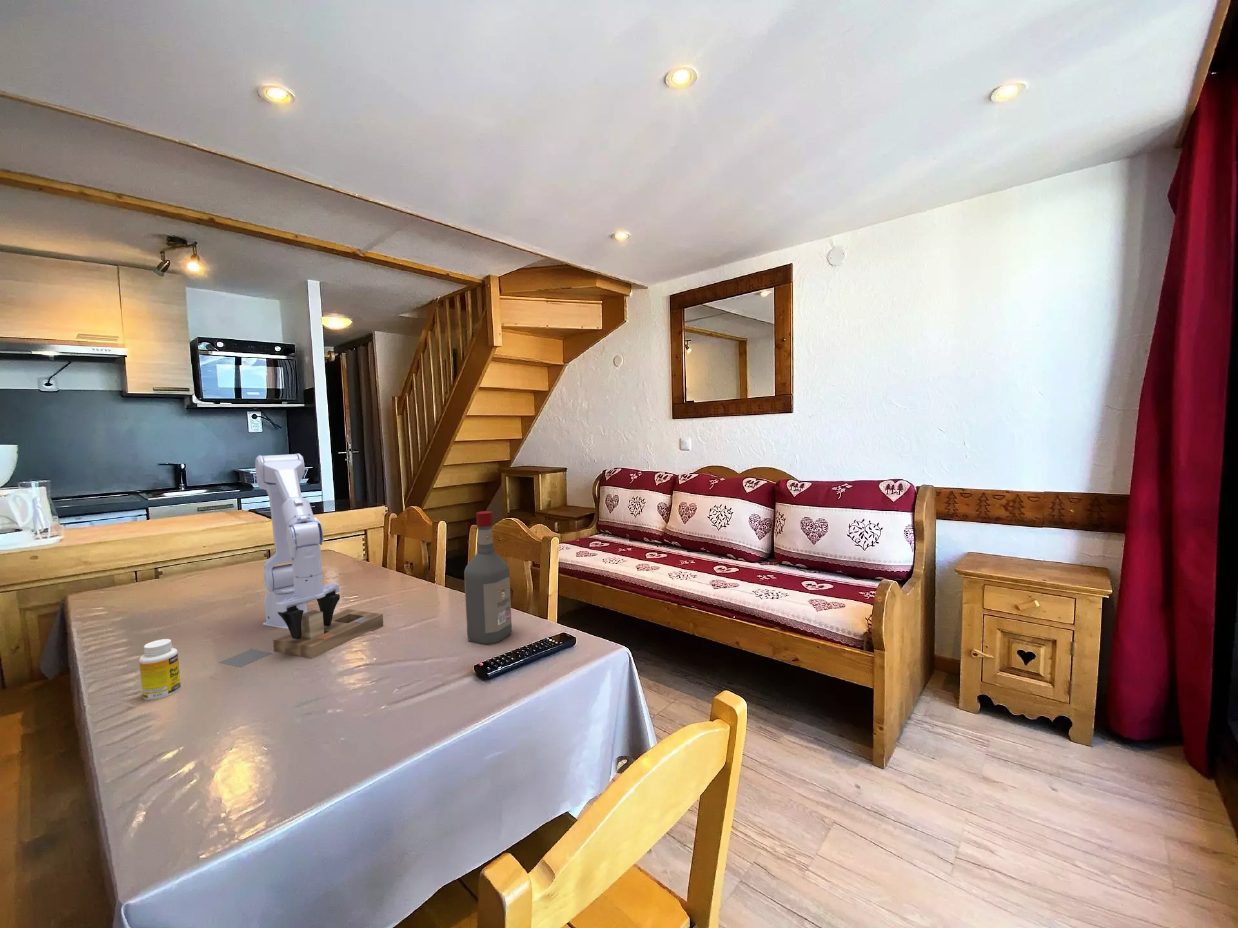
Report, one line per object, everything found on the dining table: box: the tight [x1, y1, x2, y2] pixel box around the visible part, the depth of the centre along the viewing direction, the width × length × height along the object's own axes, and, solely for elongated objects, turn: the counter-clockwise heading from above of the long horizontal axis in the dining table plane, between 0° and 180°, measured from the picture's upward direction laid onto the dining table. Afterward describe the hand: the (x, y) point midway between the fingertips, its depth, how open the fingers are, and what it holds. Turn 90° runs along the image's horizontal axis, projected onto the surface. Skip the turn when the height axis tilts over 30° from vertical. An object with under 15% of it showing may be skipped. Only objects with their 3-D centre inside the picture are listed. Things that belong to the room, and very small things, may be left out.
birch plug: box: [301, 609, 324, 640], centre depth 120 cm, size 3×3×8 cm
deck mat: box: [218, 648, 273, 668], centre depth 114 cm, size 7×7×1 cm
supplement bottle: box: [138, 638, 182, 701], centre depth 100 cm, size 6×6×10 cm
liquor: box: [463, 510, 513, 645], centre depth 123 cm, size 9×9×30 cm
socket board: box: [272, 608, 384, 659], centre depth 125 cm, size 12×20×3 cm, turn 159°
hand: (312, 631), depth 120 cm, fingers open, 7 cm apart
